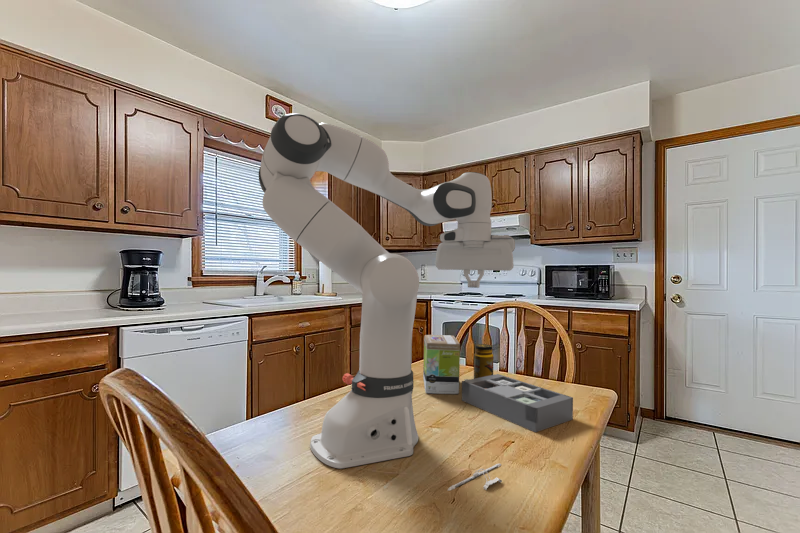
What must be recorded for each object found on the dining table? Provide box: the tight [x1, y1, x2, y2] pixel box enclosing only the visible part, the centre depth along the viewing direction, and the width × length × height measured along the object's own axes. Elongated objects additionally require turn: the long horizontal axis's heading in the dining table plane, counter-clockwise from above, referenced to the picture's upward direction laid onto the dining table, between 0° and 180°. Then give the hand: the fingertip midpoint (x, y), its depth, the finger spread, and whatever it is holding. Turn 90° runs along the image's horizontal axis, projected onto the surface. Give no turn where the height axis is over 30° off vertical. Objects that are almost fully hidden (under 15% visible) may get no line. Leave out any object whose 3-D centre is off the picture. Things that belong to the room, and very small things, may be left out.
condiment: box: [463, 343, 494, 381], centre depth 123 cm, size 7×8×12 cm
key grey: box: [493, 380, 515, 388], centre depth 108 cm, size 4×4×2 cm
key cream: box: [515, 386, 534, 398], centre depth 103 cm, size 4×4×2 cm
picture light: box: [447, 463, 503, 491], centre depth 67 cm, size 14×4×2 cm, turn 128°
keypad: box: [461, 373, 574, 433], centre depth 101 cm, size 14×24×5 cm, turn 33°
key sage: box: [516, 397, 537, 404], centre depth 93 cm, size 4×4×2 cm
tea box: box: [422, 334, 461, 395], centre depth 119 cm, size 15×10×15 cm
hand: (473, 287), depth 104 cm, fingers closed
